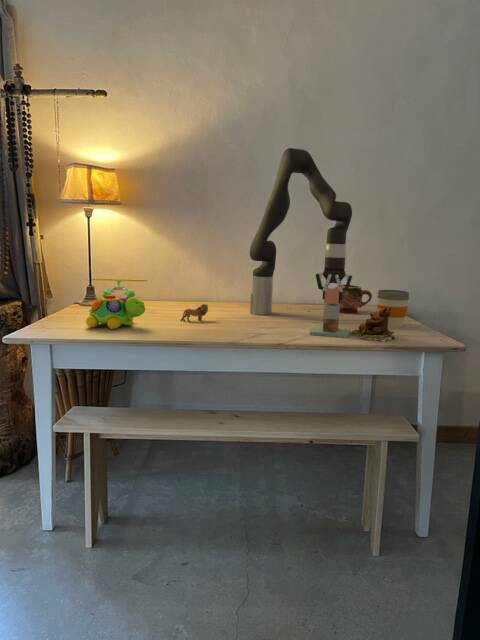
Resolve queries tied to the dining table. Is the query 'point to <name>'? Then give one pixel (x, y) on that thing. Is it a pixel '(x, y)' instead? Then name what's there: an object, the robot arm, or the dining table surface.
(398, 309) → the reusable coffee cup
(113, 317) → the turtle toy
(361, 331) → the bear figurine
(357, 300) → the brown ceramic mug
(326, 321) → the walnut brick
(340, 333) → the baseplate
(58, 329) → the dining table surface
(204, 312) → the lion figurine
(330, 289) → the red brick
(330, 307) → the slate brick
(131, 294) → the toy helicopter
